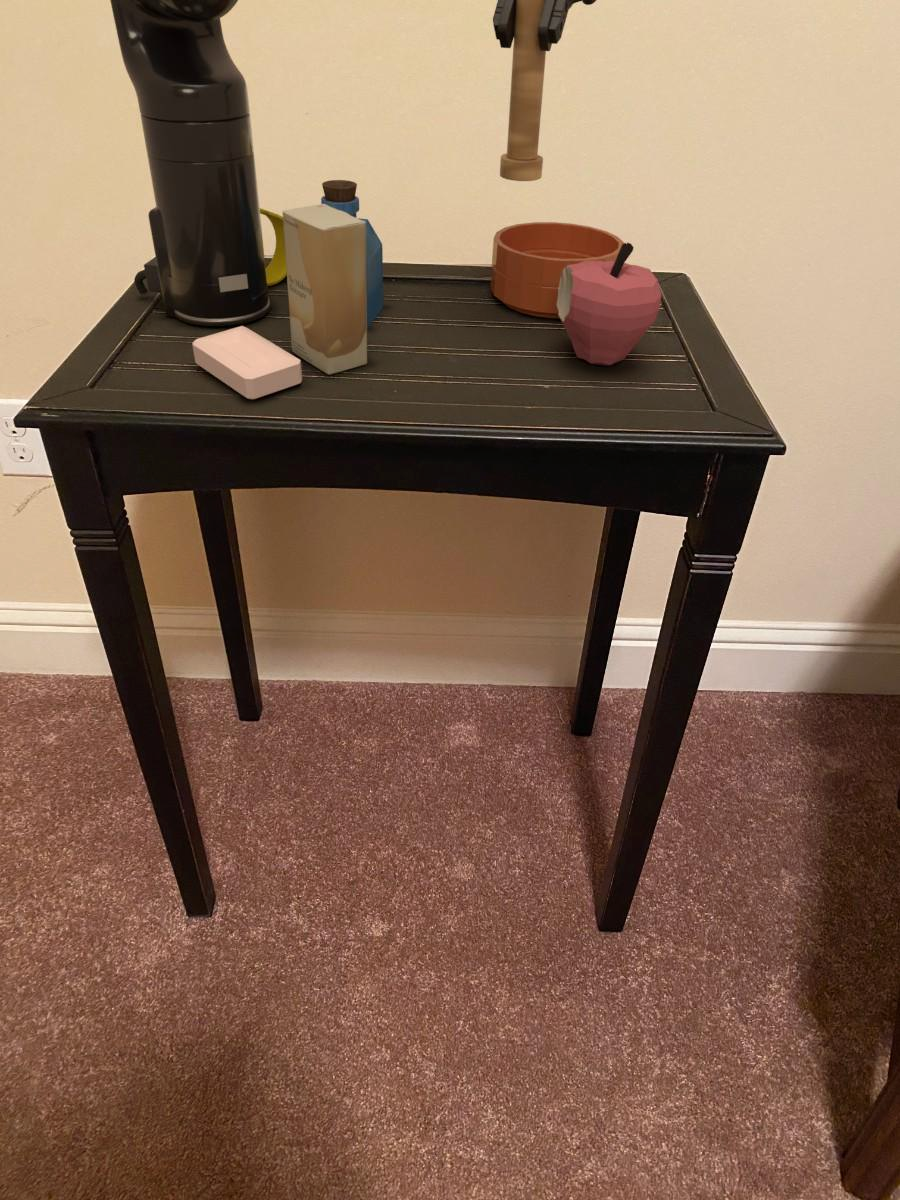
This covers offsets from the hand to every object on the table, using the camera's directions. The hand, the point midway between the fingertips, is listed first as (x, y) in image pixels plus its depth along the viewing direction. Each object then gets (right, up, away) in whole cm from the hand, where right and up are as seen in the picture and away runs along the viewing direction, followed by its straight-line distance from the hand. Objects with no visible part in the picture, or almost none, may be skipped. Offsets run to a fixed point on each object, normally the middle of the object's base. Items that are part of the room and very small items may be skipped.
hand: (523, 40), depth 65 cm
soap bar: (-23, -24, +8) cm, 34 cm away
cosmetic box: (-16, -22, +11) cm, 29 cm away
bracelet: (-27, -5, +26) cm, 38 cm away
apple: (+8, -21, +13) cm, 26 cm away
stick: (0, -7, +8) cm, 10 cm away
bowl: (+5, -11, +25) cm, 28 cm away
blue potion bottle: (-16, -15, +20) cm, 29 cm away
